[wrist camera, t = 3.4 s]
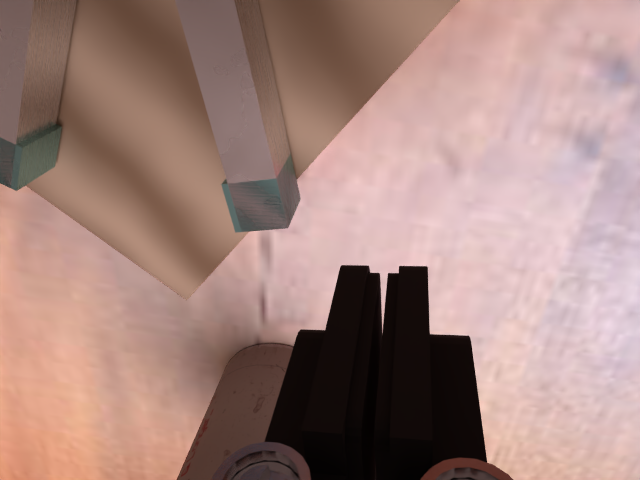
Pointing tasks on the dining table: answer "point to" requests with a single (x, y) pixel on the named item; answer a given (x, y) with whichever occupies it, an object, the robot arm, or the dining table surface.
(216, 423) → the thermos bottle
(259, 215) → the tongs jaw
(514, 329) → the dining table surface
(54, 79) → the tongs base
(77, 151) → the maple board
